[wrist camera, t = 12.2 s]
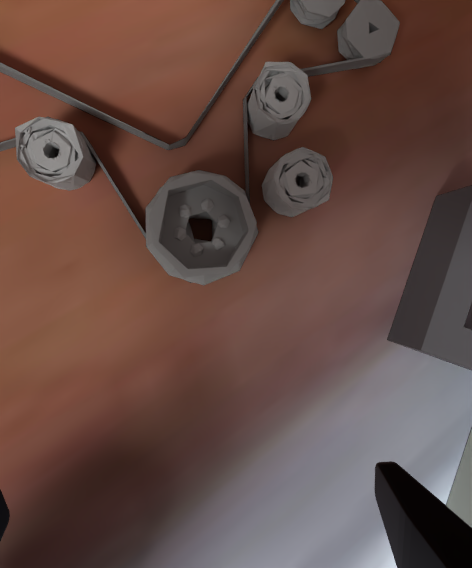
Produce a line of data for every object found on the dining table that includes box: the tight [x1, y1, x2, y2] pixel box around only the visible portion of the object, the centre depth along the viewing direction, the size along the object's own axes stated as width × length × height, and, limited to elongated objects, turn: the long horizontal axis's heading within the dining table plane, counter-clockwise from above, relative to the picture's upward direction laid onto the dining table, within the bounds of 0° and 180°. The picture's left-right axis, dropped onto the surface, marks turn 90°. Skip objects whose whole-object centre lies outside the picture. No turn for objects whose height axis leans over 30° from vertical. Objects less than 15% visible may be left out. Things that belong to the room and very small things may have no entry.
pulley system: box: [0, 0, 400, 285], centre depth 18 cm, size 27×5×15 cm
